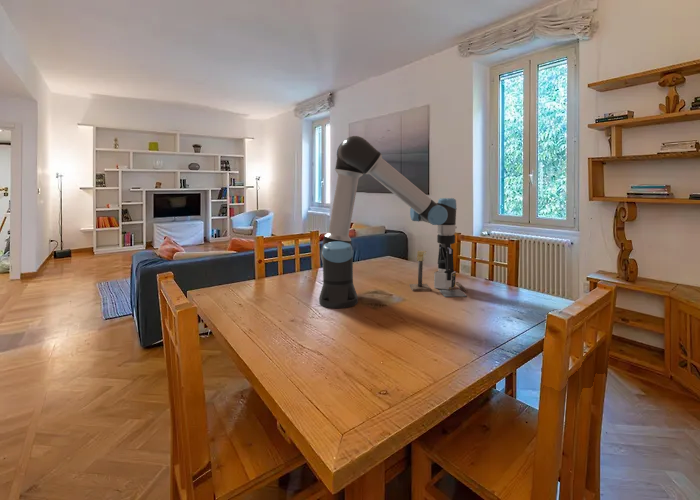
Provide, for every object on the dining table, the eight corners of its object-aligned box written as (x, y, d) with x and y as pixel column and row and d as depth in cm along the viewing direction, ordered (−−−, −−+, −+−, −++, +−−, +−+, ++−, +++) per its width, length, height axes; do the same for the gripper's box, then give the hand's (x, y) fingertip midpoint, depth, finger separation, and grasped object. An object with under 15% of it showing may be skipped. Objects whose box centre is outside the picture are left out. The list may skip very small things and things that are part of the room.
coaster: (445, 297, 156) (445, 295, 156) (439, 290, 165) (439, 289, 164) (466, 296, 156) (466, 295, 156) (460, 290, 165) (460, 289, 165)
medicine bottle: (449, 290, 164) (449, 262, 163) (433, 287, 168) (434, 261, 167) (455, 287, 170) (456, 260, 168) (440, 285, 174) (440, 259, 172)
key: (422, 262, 163) (422, 253, 162) (416, 261, 164) (416, 252, 163) (426, 255, 176) (426, 247, 176) (420, 255, 177) (421, 247, 177)
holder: (413, 293, 162) (414, 264, 160) (408, 284, 176) (408, 257, 173) (467, 292, 162) (468, 263, 160) (457, 283, 176) (458, 257, 174)
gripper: (463, 237, 154) (461, 290, 158) (447, 230, 176) (446, 277, 180) (444, 238, 154) (443, 291, 158) (431, 230, 176) (430, 277, 180)
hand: (444, 283), depth 169 cm, fingers closed on medicine bottle, 10 cm apart
